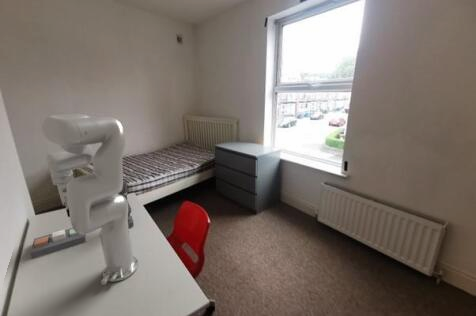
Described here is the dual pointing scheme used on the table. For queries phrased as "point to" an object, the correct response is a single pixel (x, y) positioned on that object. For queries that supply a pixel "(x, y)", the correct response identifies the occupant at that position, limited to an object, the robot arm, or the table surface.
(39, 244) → the terracotta key
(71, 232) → the sage key
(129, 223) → the candle holder
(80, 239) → the keypad
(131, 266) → the robot arm
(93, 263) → the table surface
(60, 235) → the cream key
